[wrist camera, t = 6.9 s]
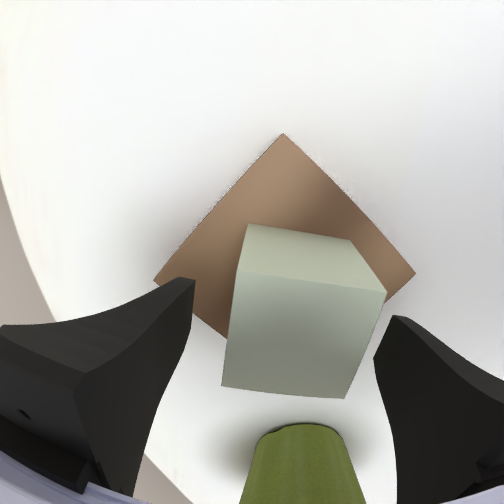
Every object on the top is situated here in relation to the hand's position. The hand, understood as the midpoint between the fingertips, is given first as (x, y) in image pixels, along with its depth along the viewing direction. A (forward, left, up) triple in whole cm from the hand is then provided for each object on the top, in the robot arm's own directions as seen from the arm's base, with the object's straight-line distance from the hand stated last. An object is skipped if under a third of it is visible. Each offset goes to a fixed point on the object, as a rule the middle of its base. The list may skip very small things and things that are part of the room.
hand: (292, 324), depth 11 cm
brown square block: (0, 0, -7) cm, 7 cm away
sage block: (0, 0, -4) cm, 4 cm away
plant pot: (-13, +11, -7) cm, 18 cm away
